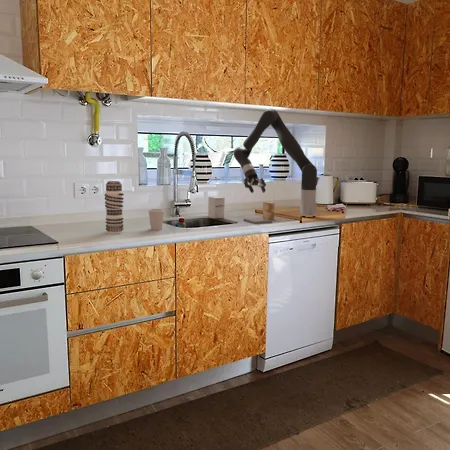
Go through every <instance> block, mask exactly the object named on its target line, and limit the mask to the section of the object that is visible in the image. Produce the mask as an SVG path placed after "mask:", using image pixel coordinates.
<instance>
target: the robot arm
mask: <svg viewBox="0 0 450 450" xmlns="http://www.w3.org/2000/svg"><path fill="white" fill-rule="evenodd" d="M270 126H271V127H272V128H273V129H274V131H275V133H276V134H277V137H278V141H279V144H280V145H281V147H282V148H283V150H284V151H285V153H287V155H288V156H289V157H290V158H291V159H292V160H293V161H294V162H295V163H296V165H297V166H298V168H299V169H300V171H301V183H300V184H301V185H300V207H299V208H300V211H299V215H300V214H305V215H313V214H316V215H317V206H318V205H317V204H318V202H317V201H316V197H317V184H318V183H317V181H318V180H317V178H318V169H317V167H316V166H315V165H314V164H313V162H311V160H309V158H308V157H307V155H306V154H305V152H304V150H303V148H302V147H301V145H300V143H299V142H298V141H297V139H296V138H295V137H294V135H293V134H292V133H291V131H290V130H289V128H288V127H287V126H286V124H285V123H284V121H283V120H282V118H281V115H280V114H279V112H278V111H277V110H276V109H273V108H269V109H266V110H264V111H263V112H262V114H261V115H260V118H259V119H258V122H257V123H256V125H255V126H254V128H253V129H252V130H251V132H250V133H249V134H248V136H247V137H246V138H245V140H244V141H243V142H242V145H243V148H241V147H236V148H235V149H234V150H233V158H234V159H235V160H236V161H237V164H239V165H240V167H241V169H242V172H243V176H244V177H245V178H244V179H243V185H244V187H245V189H248V190H249V191H250V193H251V194H254V188H253V186H255V187H259V188H260V189H261V191H262V193H265V192H266V188H265V187H266V186H267V184H266V182H265V180H264V178H260V179H259V177H258V173H257V172H256V169H255V167H254V165H253V164H252V161H251V159H250V158H249V157H250V155H251V153H252V151H253V148H254V147H255V146H256V145H257V143H258V142H259V140H260V138H261V136H262V135H263V133H264V131H266V130H267V128H269V127H270Z"/></svg>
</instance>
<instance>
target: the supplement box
mask: <svg viewBox="0 0 450 450" xmlns="http://www.w3.org/2000/svg"><path fill="white" fill-rule="evenodd" d="M207 204H208V206H207V207H208V208H207V211H208V212H207V214H208V215H207V216H208V218H212V219H214V220H215V219H224V218H225V197H224V196H209V197H208V201H207Z"/></svg>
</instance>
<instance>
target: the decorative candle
mask: <svg viewBox="0 0 450 450" xmlns="http://www.w3.org/2000/svg"><path fill="white" fill-rule="evenodd" d="M124 195H125V194H124V193H123V183H121V181H119V180H109V181H107V182H106V183H105V194H104V200H105V202H104V207H105V210H106V211H105V212H106V215H105V223H106V224H105V227H106V228H105V233H106V234H111V235H117V234H118V235H119V234H123V233H124V224H123V223H124V216H123V209H124V205H123V203H124V197H123V196H124Z"/></svg>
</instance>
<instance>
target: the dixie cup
mask: <svg viewBox="0 0 450 450" xmlns="http://www.w3.org/2000/svg"><path fill="white" fill-rule="evenodd" d="M165 211H166V210H165V209H164V208H163V209H162V208H150V209H148V216H149V222H150V223H149V224H150V225H149V226H150V229H151V230H153V231H160V230H161V231H162V230H163V224H164V216H165Z"/></svg>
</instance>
